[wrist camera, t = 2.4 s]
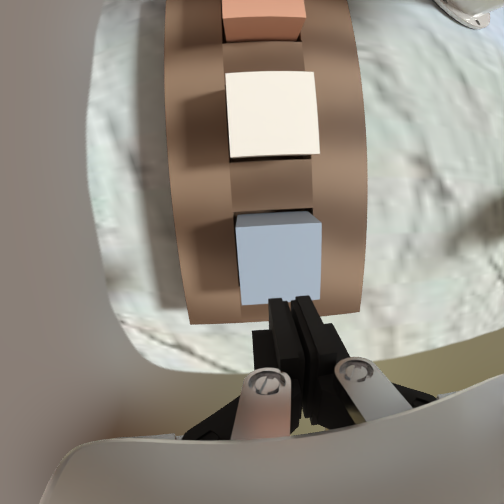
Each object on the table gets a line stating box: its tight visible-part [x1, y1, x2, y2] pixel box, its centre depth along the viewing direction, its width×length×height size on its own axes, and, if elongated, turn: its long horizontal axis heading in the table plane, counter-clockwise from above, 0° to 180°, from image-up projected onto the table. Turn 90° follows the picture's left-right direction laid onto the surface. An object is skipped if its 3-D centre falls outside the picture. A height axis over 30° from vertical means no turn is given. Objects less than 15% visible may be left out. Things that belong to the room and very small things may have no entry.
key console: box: [164, 0, 367, 325], centre depth 19 cm, size 30×14×4 cm, turn 3°
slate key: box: [236, 211, 322, 305], centre depth 19 cm, size 5×5×4 cm
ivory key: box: [225, 71, 320, 158], centre depth 16 cm, size 5×5×4 cm
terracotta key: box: [222, 0, 306, 43], centre depth 13 cm, size 5×5×4 cm
